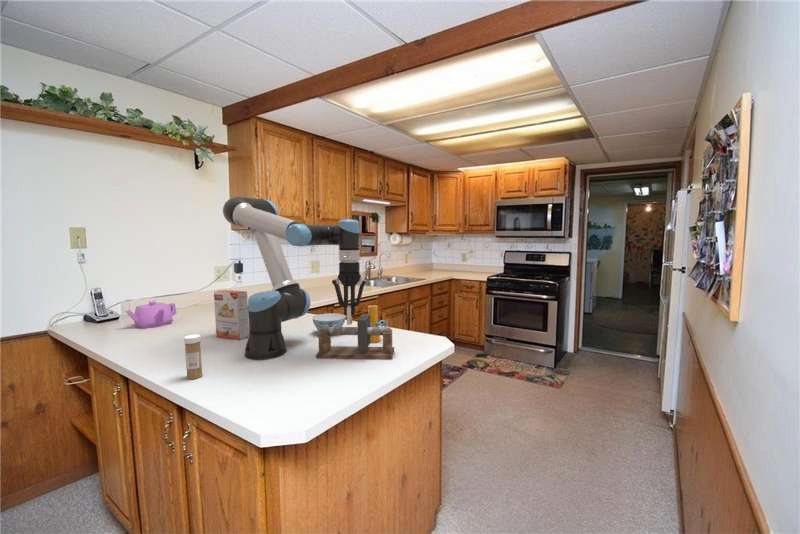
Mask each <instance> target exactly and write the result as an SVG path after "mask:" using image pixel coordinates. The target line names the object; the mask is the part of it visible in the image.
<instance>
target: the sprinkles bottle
mask: <svg viewBox="0 0 800 534" xmlns="http://www.w3.org/2000/svg"><path fill="white" fill-rule="evenodd" d="M201 340H202V339H201V335H200V334H189V335H186V336H184V337H183V343H184V348H185V350H184V351H185V354H184V355H185V366H186V367H185V368H186V378H187V379H189V380H195V379H199V378H202V377H203V361H202V351H201V350H202V349H201Z"/></svg>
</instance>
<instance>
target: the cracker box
mask: <svg viewBox="0 0 800 534" xmlns="http://www.w3.org/2000/svg"><path fill="white" fill-rule="evenodd" d="M213 302H214V316H215V318H214V320H215V336H216V337H217V338H225V339H230V340H236V339H237V341H241V340H244V339H247V338H249V318H248V291H246V290H245V291H244V290H233V289H232V290H230V289H220V290H216V291H213ZM246 337H247V338H246ZM243 338H244V339H243Z"/></svg>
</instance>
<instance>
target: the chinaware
mask: <svg viewBox="0 0 800 534" xmlns="http://www.w3.org/2000/svg"><path fill="white" fill-rule="evenodd" d="M346 319H347V315H344V313H343V314H342V313H323V314H322V313H320V314H317V315H313V316H312V323H313V326H314V327H315V328H316V329H317V331H319V332H320V331H321V327H344V324H345V321H346Z"/></svg>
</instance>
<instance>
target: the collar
mask: <svg viewBox="0 0 800 534" xmlns="http://www.w3.org/2000/svg"><path fill="white" fill-rule="evenodd" d="M356 327H358V335H357V347H358V350H366V349H367V347H369V346H370V343H371V335H368V336H367V327H370V314H368V313H361V315H360V316H359V318H358V319H357V325H356Z"/></svg>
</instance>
